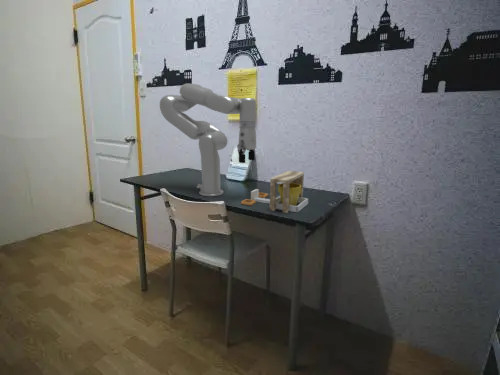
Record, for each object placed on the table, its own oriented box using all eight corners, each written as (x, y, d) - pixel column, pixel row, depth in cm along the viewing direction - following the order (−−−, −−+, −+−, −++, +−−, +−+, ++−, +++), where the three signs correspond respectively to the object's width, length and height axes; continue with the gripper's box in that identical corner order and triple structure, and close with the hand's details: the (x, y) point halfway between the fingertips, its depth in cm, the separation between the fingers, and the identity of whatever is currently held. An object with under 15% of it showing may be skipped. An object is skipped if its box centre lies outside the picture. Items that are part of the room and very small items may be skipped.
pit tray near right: (241, 204, 139) (241, 201, 139) (246, 201, 143) (246, 198, 143) (250, 206, 137) (250, 203, 136) (255, 203, 141) (255, 200, 140)
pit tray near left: (254, 197, 151) (254, 194, 150) (259, 195, 155) (259, 192, 155) (263, 198, 149) (263, 195, 148) (268, 196, 153) (268, 193, 152)
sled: (246, 203, 140) (246, 193, 139) (260, 196, 153) (260, 187, 151) (297, 212, 128) (298, 201, 127) (308, 203, 141) (308, 193, 140)
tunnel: (269, 210, 131) (270, 178, 128) (287, 198, 149) (288, 170, 145) (286, 213, 128) (288, 180, 124) (302, 200, 145) (303, 172, 142)
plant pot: (284, 201, 145) (285, 181, 142) (304, 204, 139) (305, 184, 137) (273, 206, 137) (274, 185, 134) (293, 210, 131) (294, 189, 128)
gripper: (245, 126, 132) (245, 164, 136) (262, 125, 147) (261, 159, 151) (231, 125, 135) (231, 163, 139) (248, 124, 150) (248, 158, 154)
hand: (246, 161), depth 145 cm, fingers open, 9 cm apart
